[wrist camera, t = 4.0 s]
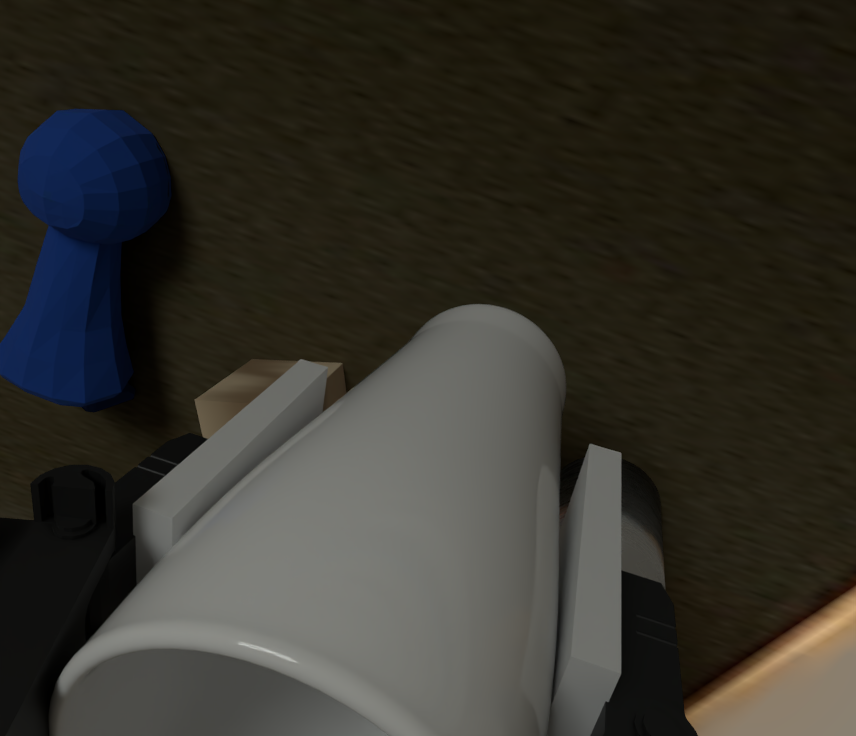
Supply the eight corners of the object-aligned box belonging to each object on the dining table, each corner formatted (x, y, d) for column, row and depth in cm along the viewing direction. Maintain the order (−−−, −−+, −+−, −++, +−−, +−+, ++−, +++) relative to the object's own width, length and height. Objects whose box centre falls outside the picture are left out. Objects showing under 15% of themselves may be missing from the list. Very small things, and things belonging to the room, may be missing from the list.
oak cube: (268, 444, 35) (216, 496, 31) (252, 358, 33) (194, 399, 29) (354, 452, 34) (312, 507, 29) (343, 362, 32) (296, 406, 28)
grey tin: (538, 526, 32) (519, 613, 27) (565, 441, 30) (550, 517, 25) (640, 560, 31) (640, 656, 26) (676, 475, 29) (684, 562, 24)
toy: (163, 398, 37) (194, 133, 30) (80, 456, 32) (92, 151, 24) (62, 350, 38) (67, 82, 30) (-36, 399, 33) (-58, 88, 25)
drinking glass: (621, 437, 21) (608, 1028, 8) (437, 484, 24) (197, 985, 11) (545, 243, 19) (365, 582, 6) (356, 317, 22) (-53, 663, 9)
